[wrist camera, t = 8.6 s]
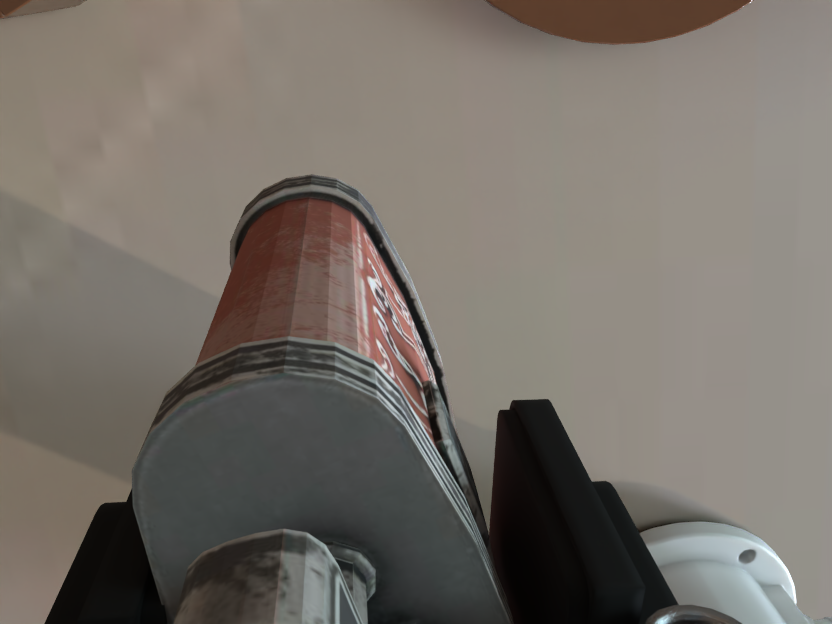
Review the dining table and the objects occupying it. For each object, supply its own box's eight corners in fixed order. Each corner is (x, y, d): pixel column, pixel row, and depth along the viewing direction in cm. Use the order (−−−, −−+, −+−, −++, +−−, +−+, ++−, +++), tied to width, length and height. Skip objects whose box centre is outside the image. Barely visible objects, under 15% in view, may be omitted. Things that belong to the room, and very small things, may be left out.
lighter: (484, 502, 16) (667, 1148, 7) (337, 545, 16) (335, 1236, 7) (377, 150, 13) (466, 518, 4) (195, 205, 13) (-126, 690, 4)
